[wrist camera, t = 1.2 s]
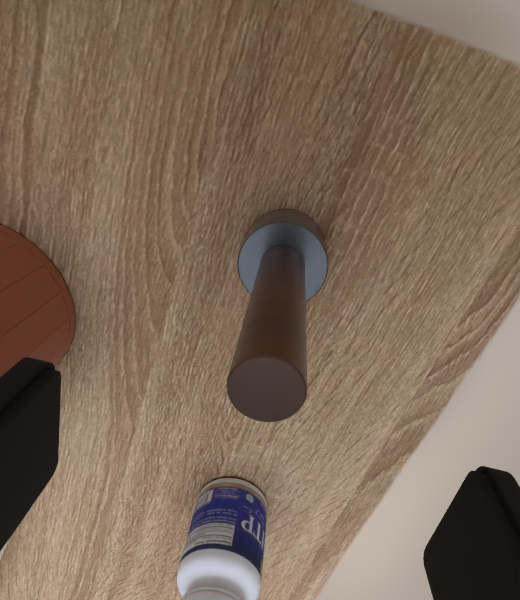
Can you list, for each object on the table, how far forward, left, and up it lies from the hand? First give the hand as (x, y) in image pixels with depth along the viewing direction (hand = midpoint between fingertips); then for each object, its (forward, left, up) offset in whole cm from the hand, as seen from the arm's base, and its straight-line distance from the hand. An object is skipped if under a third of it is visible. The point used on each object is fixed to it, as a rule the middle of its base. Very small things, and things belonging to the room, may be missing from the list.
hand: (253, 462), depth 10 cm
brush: (0, 0, -15) cm, 15 cm away
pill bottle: (+20, +1, -15) cm, 25 cm away
